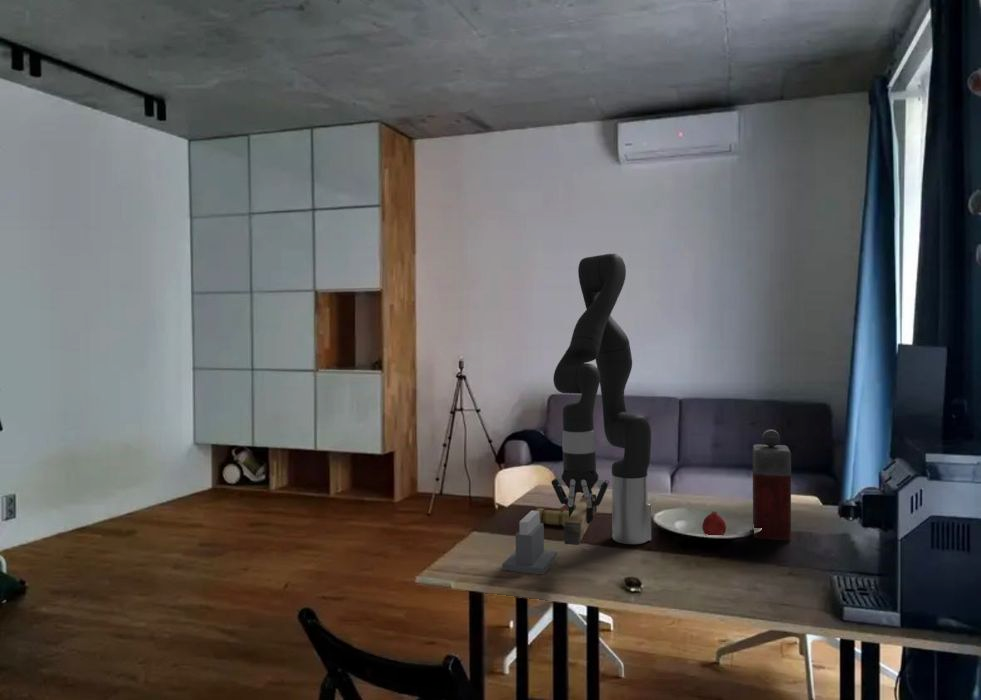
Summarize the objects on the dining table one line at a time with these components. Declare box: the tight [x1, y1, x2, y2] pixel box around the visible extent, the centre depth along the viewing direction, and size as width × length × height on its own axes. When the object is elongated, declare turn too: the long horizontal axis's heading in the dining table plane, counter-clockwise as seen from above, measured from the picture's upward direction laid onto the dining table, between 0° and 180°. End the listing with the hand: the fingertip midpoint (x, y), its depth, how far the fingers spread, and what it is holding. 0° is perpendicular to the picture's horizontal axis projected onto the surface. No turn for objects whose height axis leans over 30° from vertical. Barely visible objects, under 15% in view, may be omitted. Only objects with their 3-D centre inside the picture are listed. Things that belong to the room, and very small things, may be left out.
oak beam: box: [563, 493, 598, 546], centre depth 160 cm, size 22×3×4 cm, turn 161°
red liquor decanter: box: [752, 429, 792, 542], centre depth 184 cm, size 9×11×28 cm
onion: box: [702, 510, 727, 536], centre depth 178 cm, size 6×6×8 cm
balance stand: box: [502, 510, 558, 576], centre depth 164 cm, size 10×12×12 cm
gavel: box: [535, 504, 569, 528], centre depth 203 cm, size 21×5×10 cm
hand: (581, 521), depth 160 cm, fingers closed on oak beam, 3 cm apart
